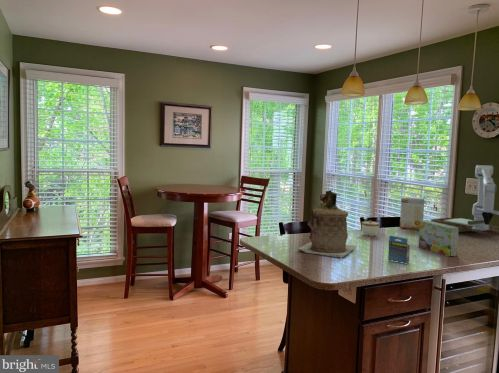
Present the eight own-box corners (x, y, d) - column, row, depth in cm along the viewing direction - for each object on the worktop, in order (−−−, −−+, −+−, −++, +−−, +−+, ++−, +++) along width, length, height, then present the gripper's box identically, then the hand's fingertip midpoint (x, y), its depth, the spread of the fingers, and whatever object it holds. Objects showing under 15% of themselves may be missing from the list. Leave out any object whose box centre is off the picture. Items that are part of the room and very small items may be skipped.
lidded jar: (380, 237, 240) (381, 222, 239) (362, 236, 241) (362, 221, 240) (377, 233, 250) (378, 219, 249) (359, 232, 252) (360, 218, 251)
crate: (447, 225, 282) (447, 217, 282) (471, 230, 267) (472, 221, 266) (430, 227, 274) (431, 219, 273) (455, 232, 258) (455, 223, 258)
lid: (461, 219, 273) (461, 215, 273) (487, 223, 257) (487, 219, 257) (444, 221, 264) (444, 217, 264) (470, 225, 249) (470, 221, 249)
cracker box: (422, 229, 269) (424, 198, 267) (421, 230, 264) (423, 199, 262) (401, 226, 276) (403, 196, 274) (399, 227, 271) (401, 197, 269)
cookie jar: (357, 249, 209) (360, 189, 206) (343, 259, 188) (346, 193, 185) (313, 242, 222) (315, 186, 219) (295, 252, 201) (297, 189, 198)
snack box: (417, 247, 216) (419, 220, 215) (425, 246, 218) (427, 219, 217) (449, 257, 197) (451, 227, 195) (457, 256, 199) (459, 227, 197)
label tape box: (409, 263, 185) (410, 237, 184) (406, 264, 182) (407, 238, 181) (390, 259, 191) (392, 234, 190) (387, 261, 188) (388, 235, 186)
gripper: (473, 202, 252) (471, 223, 253) (496, 205, 239) (495, 227, 240) (479, 201, 255) (478, 222, 256) (503, 204, 243) (501, 226, 244)
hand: (486, 224), depth 249 cm, fingers closed
